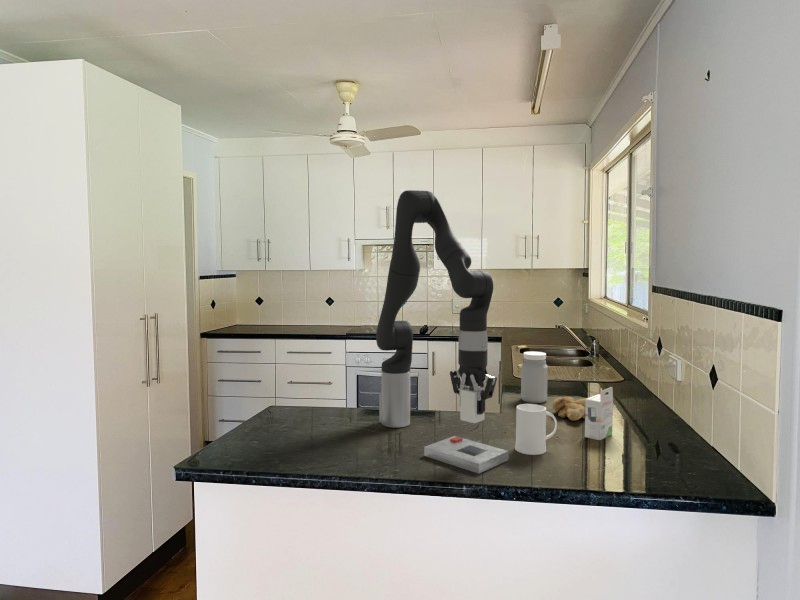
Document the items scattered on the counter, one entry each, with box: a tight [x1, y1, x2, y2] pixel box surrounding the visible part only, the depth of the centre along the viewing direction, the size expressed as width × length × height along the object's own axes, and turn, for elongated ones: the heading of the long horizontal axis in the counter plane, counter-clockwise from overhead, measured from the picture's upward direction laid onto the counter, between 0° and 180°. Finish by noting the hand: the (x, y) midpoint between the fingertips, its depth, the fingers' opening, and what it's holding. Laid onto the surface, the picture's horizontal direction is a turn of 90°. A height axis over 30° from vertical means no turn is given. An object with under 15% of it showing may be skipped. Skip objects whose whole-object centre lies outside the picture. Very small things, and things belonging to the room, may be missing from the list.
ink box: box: [584, 386, 614, 441], centre depth 166 cm, size 9×5×15 cm, turn 134°
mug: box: [514, 403, 558, 456], centre depth 153 cm, size 12×8×12 cm
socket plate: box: [423, 435, 509, 474], centre depth 147 cm, size 18×13×3 cm
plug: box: [459, 386, 485, 424], centre depth 145 cm, size 4×4×10 cm
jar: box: [520, 350, 549, 404], centre depth 208 cm, size 10×10×18 cm
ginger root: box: [552, 396, 588, 421], centre depth 187 cm, size 16×16×8 cm
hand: (472, 411), depth 145 cm, fingers closed on plug, 4 cm apart
